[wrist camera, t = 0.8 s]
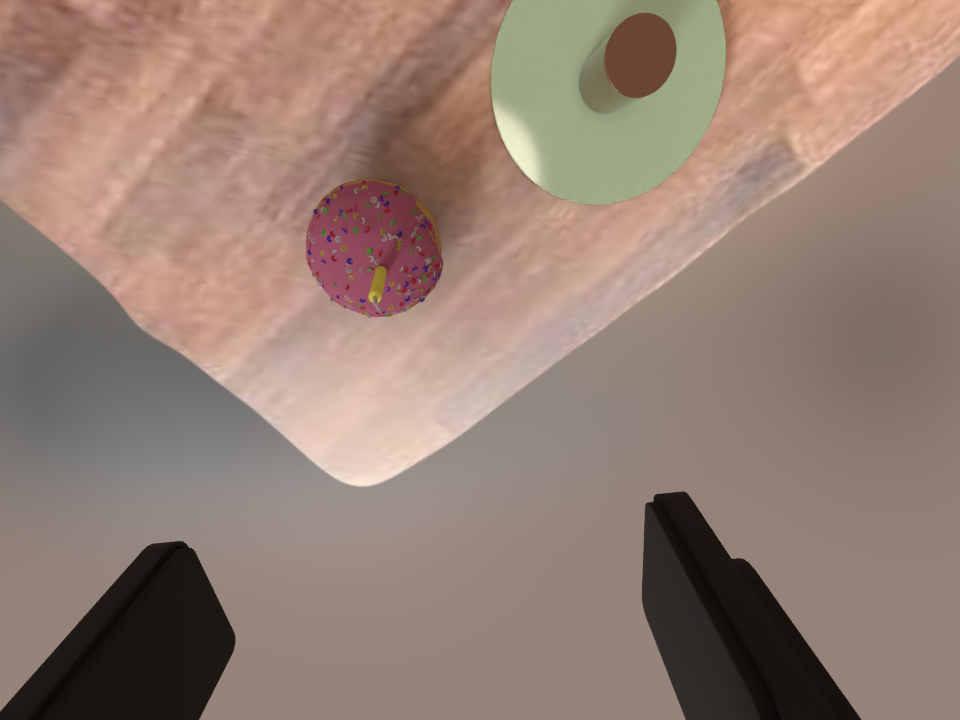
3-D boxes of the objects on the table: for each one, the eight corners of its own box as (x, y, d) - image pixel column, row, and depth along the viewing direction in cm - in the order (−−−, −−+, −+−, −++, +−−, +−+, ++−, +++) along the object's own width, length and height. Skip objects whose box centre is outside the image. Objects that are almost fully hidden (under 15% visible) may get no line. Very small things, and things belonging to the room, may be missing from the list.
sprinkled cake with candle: (470, 239, 32) (467, 271, 21) (397, 321, 35) (359, 389, 23) (376, 150, 30) (318, 134, 19) (305, 245, 32) (215, 280, 21)
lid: (459, -7, 27) (454, -67, 20) (702, -103, 25) (783, -203, 19) (524, 231, 32) (536, 245, 25) (728, 164, 30) (797, 160, 24)
